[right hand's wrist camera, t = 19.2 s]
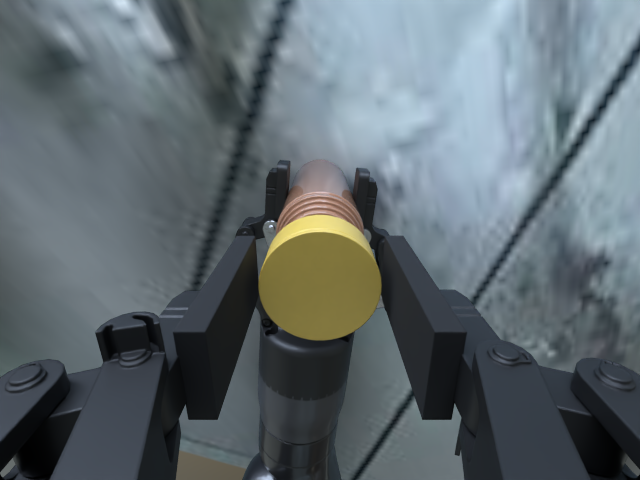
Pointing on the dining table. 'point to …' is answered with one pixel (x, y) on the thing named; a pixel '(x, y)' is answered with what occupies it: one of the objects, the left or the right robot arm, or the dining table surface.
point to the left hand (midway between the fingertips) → (323, 167)
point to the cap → (320, 278)
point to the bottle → (319, 195)
